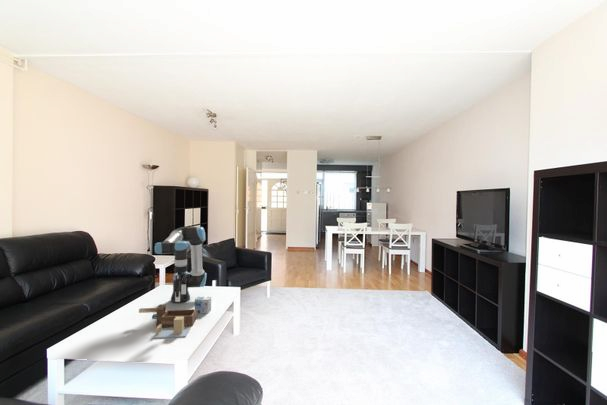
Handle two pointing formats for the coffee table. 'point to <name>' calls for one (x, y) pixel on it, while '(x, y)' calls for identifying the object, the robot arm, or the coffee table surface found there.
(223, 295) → the coffee table surface
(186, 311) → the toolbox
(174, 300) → the robot arm
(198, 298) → the light bulb box
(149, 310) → the key
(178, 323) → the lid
